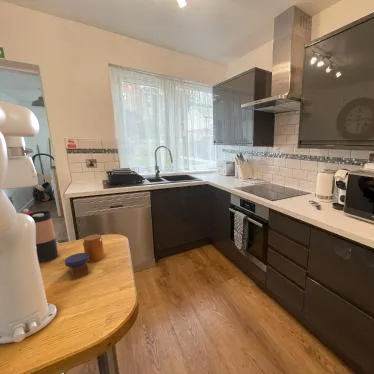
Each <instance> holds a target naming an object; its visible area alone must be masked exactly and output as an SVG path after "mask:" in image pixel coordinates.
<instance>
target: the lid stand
mask: <svg viewBox="0 0 374 374" xmlns="http://www.w3.org/2000/svg"><path fill="white" fill-rule="evenodd" d="M68 270H69V272H70V274H71V276H72V278H73V280H76V279H79V278H82V277H85V276H87V275H89V273H90V272H89V267H88V264H87V262H86V263H84V264H82V265H80V266H76V267H68Z"/></svg>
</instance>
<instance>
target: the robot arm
mask: <svg viewBox="0 0 374 374" xmlns="http://www.w3.org/2000/svg"><path fill="white" fill-rule="evenodd" d="M39 132H40V123H39V120H38V118H37V116H36V115H35V113H34V112H33V111H32V110H31V109H30V108H28V107H26V106H23V105H20V104H17V103H11V102H7V101H3V100H0V344H9V343H10V344H11V343H20V342H21V341H24V339H25V338H27V337H30V336H32V335H34V334H36V333H38V332H39V331H41V330H43V328H45V327H46V326H48V325H49V324H50V323H51V322H52V321H53V320H54V319H55V316H56V315H57V313H58V310H57V306H56V305H55V304H54V303H49V302H48V300H47V295H46V294H47V293H46V291H45V286H44V281H43V275H42V271H41V267H40V263H39V262H38V257H37V251H36V225H35V221H34V220H33V218H32V217H31V216H29V215H27V214H22V213H23V212H22V213H21V212H17V210H16V208H15V205H13V203H12V201H11V200H10V198H9V197H8V196H7V195H6V192H5V191H4V190H12V189H21V188H31V187H34V188H36V189H37V191H36V193H37V196H38V201H39V203H44V200H45V199H46V197H45V192H44V191H45V190H46V188H48V187H49V185H50V184H51V181H52V179H53V178H52V176H50V175H46V174H43V173H39V172H37V171H36V167H35V163H34V161H33V159H32V157H31V156H29V154H33V153H34V151H33V148H29V147H26V143H25V142H26V141H25V138H33V137H36V136H37V135H38V134H39ZM38 178H40V179H43V180H44V182H43V183H42V184H39V179H38Z"/></svg>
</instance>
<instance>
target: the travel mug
mask: <svg viewBox="0 0 374 374" xmlns="http://www.w3.org/2000/svg"><path fill="white" fill-rule="evenodd" d="M27 215H29V216H31V217H32V218H33V220H34V221H35V225H36V251H37V257H38V262H39V264H45V263H48V262H51V261H54V260H56V259H57V258H58V257H59V252H58V246H57V245H58V244H57V237H56V233H55V229H54V228H55V227H54V223H53V219H52V214H51V211H49V210H40V211H39V210H38V211H33V213H30V214H27Z"/></svg>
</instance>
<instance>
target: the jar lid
mask: <svg viewBox="0 0 374 374" xmlns="http://www.w3.org/2000/svg"><path fill="white" fill-rule="evenodd" d="M88 260H89V255H88V253H85V252H78V253H74V254H72V255H69V256H68V257H66V258H65V259H64V265H65V267H67V268H69V267H76V266H80V265H82V264H84V263H86V264H87V263H89V262H88Z"/></svg>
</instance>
